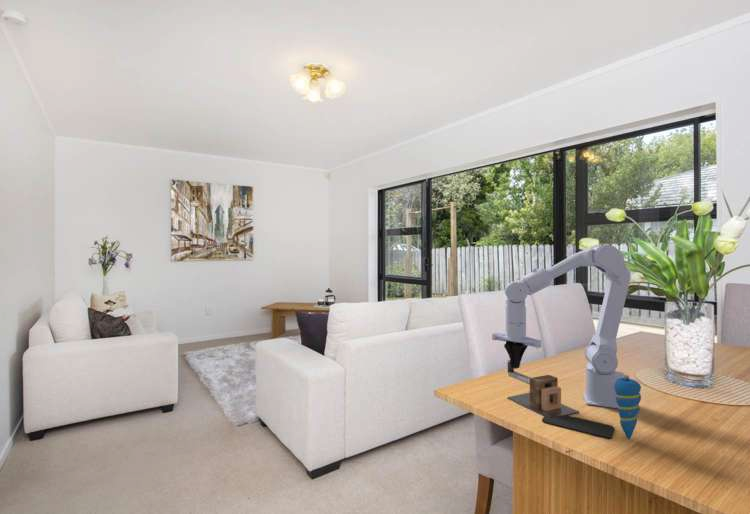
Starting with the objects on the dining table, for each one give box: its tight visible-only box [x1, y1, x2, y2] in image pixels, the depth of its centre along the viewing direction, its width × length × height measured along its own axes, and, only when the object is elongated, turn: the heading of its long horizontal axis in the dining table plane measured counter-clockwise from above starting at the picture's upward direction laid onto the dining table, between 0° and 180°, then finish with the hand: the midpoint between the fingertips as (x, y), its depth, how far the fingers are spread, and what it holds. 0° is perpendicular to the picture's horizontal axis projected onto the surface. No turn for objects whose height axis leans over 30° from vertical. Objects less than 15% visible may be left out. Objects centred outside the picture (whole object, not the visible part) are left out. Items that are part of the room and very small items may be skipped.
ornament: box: [614, 374, 642, 440], centre depth 88 cm, size 5×5×15 cm
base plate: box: [507, 392, 580, 418], centre depth 107 cm, size 16×10×1 cm, turn 24°
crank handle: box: [507, 359, 532, 386], centre depth 112 cm, size 13×2×5 cm, turn 23°
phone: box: [541, 415, 615, 440], centre depth 95 cm, size 7×1×15 cm
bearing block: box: [529, 374, 559, 409], centre depth 106 cm, size 3×7×7 cm, turn 113°
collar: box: [541, 386, 562, 411], centre depth 104 cm, size 2×5×5 cm, turn 114°
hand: (515, 367), depth 116 cm, fingers closed
